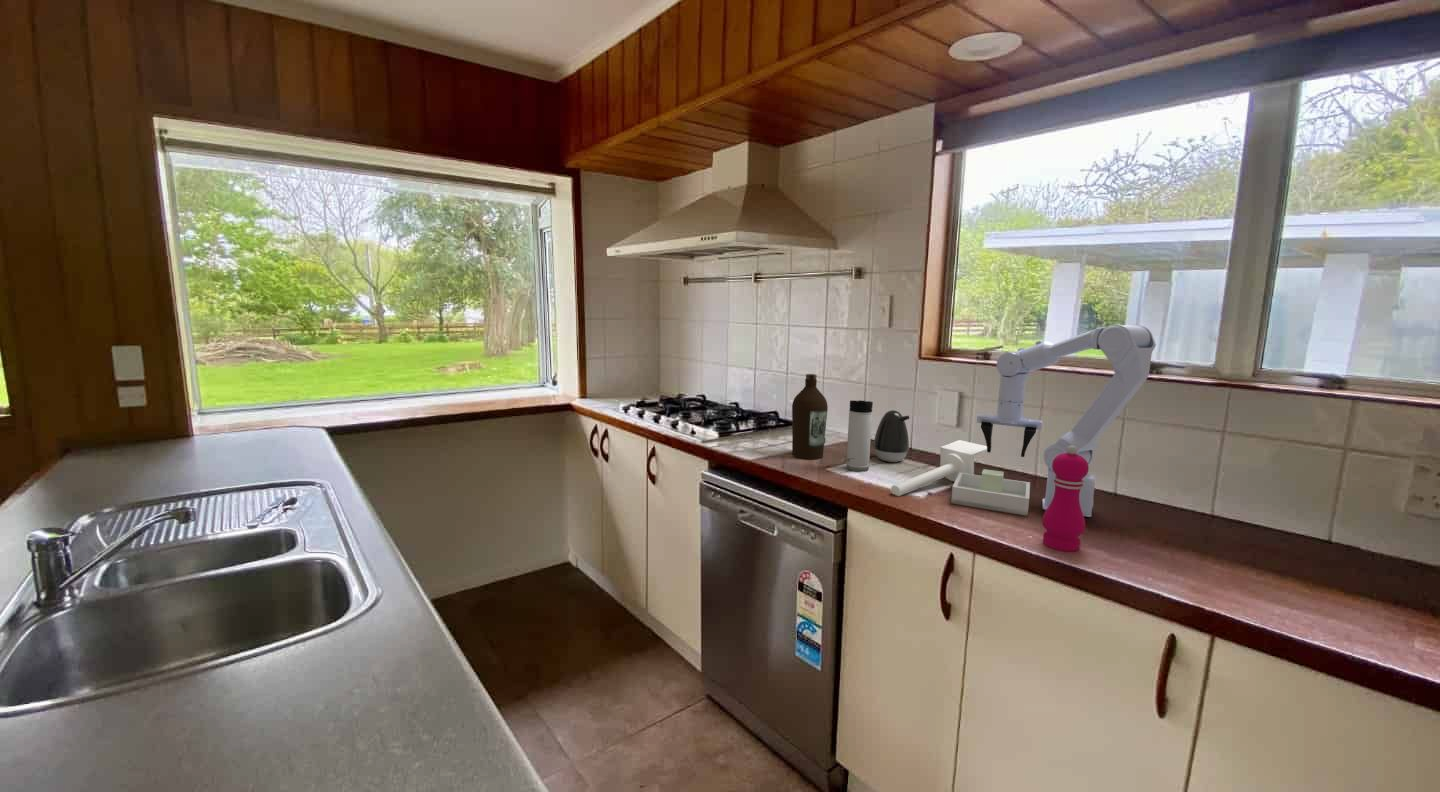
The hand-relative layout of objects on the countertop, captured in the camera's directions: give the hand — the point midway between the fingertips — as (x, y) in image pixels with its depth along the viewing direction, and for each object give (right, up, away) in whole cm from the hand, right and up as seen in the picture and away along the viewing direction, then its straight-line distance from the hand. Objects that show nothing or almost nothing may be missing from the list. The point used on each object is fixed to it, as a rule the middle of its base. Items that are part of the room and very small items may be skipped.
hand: (1005, 453), depth 147 cm
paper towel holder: (-16, -9, +4) cm, 19 cm away
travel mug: (-33, -6, +18) cm, 38 cm away
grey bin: (-7, -11, -7) cm, 15 cm away
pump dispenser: (-21, -5, +28) cm, 35 cm away
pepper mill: (-5, -15, -33) cm, 36 cm away
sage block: (-7, -10, -8) cm, 14 cm away
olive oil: (-45, -4, +31) cm, 55 cm away
